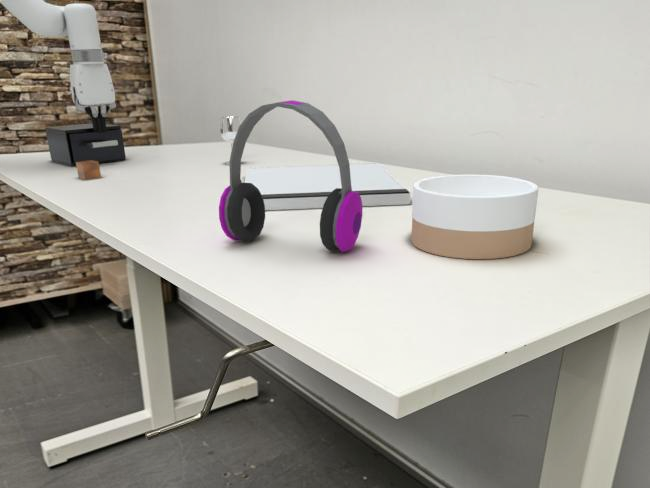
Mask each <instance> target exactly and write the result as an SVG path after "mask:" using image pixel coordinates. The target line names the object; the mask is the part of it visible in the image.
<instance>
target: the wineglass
mask: <svg viewBox="0 0 650 488" xmlns="http://www.w3.org/2000/svg"><path fill="white" fill-rule="evenodd" d="M241 124H242V122H241V118H240V116H236V115H235V116H222V117H221V118H220V125H219V132H220V136H221V138H222V139H223V140H224V141H225V142H226V143H227V142H228V143H230V149H231V150H232V146H233V142H234V139H235V137H236V134H237V131H238V129H239V126H240V125H241ZM226 165H229V166H230V162H227V163H226ZM241 165H243V164H242V162H241Z"/></svg>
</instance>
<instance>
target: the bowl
mask: <svg viewBox="0 0 650 488" xmlns="http://www.w3.org/2000/svg"><path fill="white" fill-rule="evenodd" d="M538 197H539V186H538V185H537V184H536V183H534V182H532V181H529V180H526V179H522V178H518V177H512V176H505V175H493V174H447V175H446V174H445V175H437V176H431V177H426V178H422V179H420V180H418V181H416V182H414V183H413V186H412V204H411V205H412V207H411V208H412V209H411V243H412V245H413V246H414V247H416V248H417V249H419V250H421V251H422V252H426V253H429V254H432V255H436V256H440V257H446V258H453V259H465V260H495V259H503V258H510V257H515V256H518V255H522V254H524V253H526V252H528V251H530V249H531V247H532V244H533V236H534V228H535V220H536V214H537V204H538Z"/></svg>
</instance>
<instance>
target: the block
mask: <svg viewBox="0 0 650 488" xmlns="http://www.w3.org/2000/svg"><path fill="white" fill-rule="evenodd" d="M75 167H76V173H77V177H78V178H77V179H80V180H83V181H90V180H98V179H102V174H101V168H100V163H99V162H97V161H93V160H89V161H81V162H76V166H75Z"/></svg>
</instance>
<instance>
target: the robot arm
mask: <svg viewBox="0 0 650 488" xmlns="http://www.w3.org/2000/svg"><path fill="white" fill-rule="evenodd" d="M0 4H1V5H2V6H3V7H4V8H5V9H6V10H7V11H8V12H9V13H10V14H11V15H12V16H14V17H15V18H16V19H17V20H18V21H19V22H20V23H21V24H23V25H24V26H25V27H26V28H28V30H30V31H31V32H33V33H34V34H36V35H38V36H40V37H46V38H47V37H48V38H56V39H57V38H65V37H68V42H69V49H70V53H71V60H72V64H69V79H70V80H69V82H70V91H71V98H72V102H73V104H74V105H75V110H76V111H80V112H85V114H87V115H88V116H89V117H90V118H91V123H92V124H93V129H94V130H95V132H96V133H106V130H105V129H106V124H107V122H106V117H107V114H108V112H109V111H111V110H112V109H115V108H117V104H116V93H115V88H114V84H113V83H114V82H113V79H112V76H111V72H110V70H109V67H108V65H107V63H105V59H108V57H109V54H108V53H107V52H104V50H103V48H102V42H101V36H100V30H99V24H98V23H99V22H98V18H97V12H96V9H95V7H94V6H93V5H92V4H89V3H67V4H66V5H65V6H64V5H63V6H62V5H56V4H52V3H49V2H46V1H45V0H0Z"/></svg>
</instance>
